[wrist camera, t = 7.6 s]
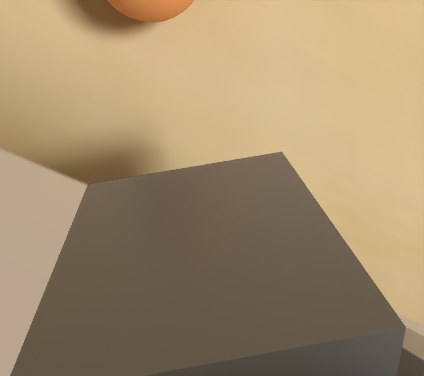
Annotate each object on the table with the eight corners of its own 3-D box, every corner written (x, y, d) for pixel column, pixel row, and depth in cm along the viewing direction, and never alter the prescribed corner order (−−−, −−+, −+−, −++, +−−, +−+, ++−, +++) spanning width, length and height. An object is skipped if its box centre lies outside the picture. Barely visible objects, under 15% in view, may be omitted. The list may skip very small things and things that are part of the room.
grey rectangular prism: (88, 184, 13) (0, 402, 6) (281, 151, 13) (406, 327, 6) (134, 319, 16) (111, 556, 9) (287, 292, 17) (372, 504, 10)
